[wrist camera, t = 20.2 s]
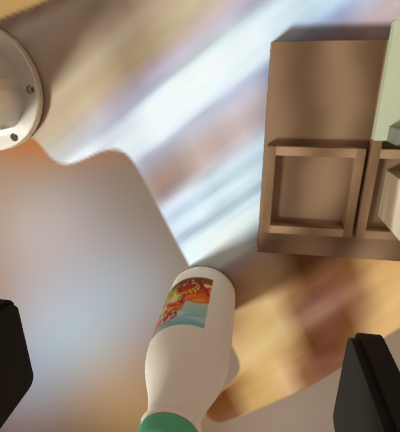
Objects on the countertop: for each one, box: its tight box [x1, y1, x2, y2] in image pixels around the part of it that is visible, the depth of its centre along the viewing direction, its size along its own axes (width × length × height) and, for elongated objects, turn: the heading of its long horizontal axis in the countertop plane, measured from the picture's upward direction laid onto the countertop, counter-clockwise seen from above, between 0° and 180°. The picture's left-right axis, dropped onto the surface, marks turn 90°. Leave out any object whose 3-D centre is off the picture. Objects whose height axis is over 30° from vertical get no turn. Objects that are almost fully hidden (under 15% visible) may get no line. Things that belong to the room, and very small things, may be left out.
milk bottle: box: [137, 266, 235, 432], centre depth 33 cm, size 8×8×20 cm
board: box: [258, 39, 400, 261], centre depth 33 cm, size 18×20×3 cm
